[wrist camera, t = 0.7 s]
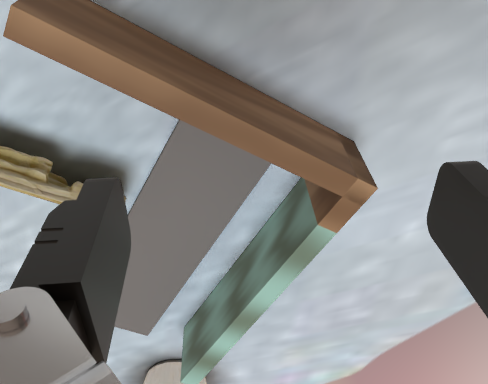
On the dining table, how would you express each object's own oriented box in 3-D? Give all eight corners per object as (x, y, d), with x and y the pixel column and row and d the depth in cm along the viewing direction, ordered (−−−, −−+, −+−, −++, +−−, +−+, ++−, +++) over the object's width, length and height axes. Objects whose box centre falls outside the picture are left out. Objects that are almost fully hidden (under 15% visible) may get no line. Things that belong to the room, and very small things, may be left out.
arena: (50, -21, 23) (11, 5, 19) (354, 141, 30) (377, 188, 26) (-34, 263, 35) (-70, 320, 30) (198, 332, 42) (196, 386, 37)
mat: (192, 94, 27) (192, 96, 27) (285, 141, 30) (285, 143, 29) (75, 312, 39) (74, 315, 39) (147, 333, 42) (147, 335, 41)
